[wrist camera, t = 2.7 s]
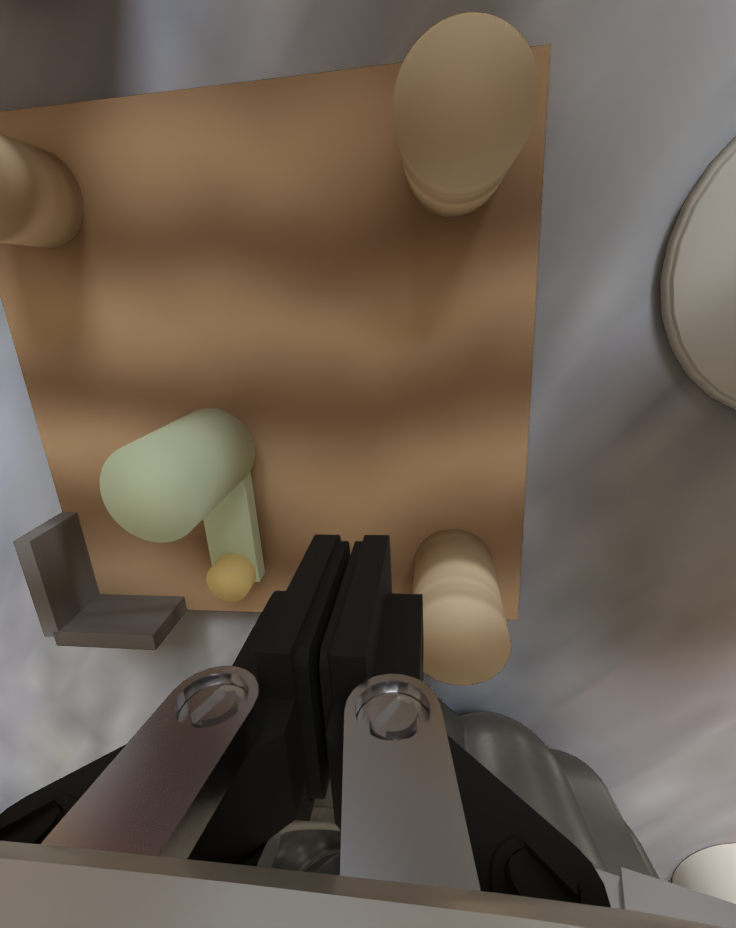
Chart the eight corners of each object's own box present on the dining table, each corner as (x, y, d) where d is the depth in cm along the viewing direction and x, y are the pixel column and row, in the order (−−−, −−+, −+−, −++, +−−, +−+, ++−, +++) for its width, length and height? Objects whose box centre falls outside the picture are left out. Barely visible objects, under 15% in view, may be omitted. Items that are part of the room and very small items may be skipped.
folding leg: (279, 581, 23) (232, 669, 18) (210, 580, 24) (144, 665, 18) (255, 402, 20) (191, 442, 15) (177, 404, 21) (88, 444, 15)
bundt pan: (312, 951, 37) (272, 1172, 28) (147, 688, 30) (19, 867, 21) (681, 923, 31) (787, 1194, 22) (582, 585, 24) (678, 772, 15)
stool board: (-7, 134, 20) (-239, 50, 13) (537, 71, 17) (609, -80, 10) (112, 585, 27) (3, 685, 20) (511, 595, 25) (542, 717, 17)
